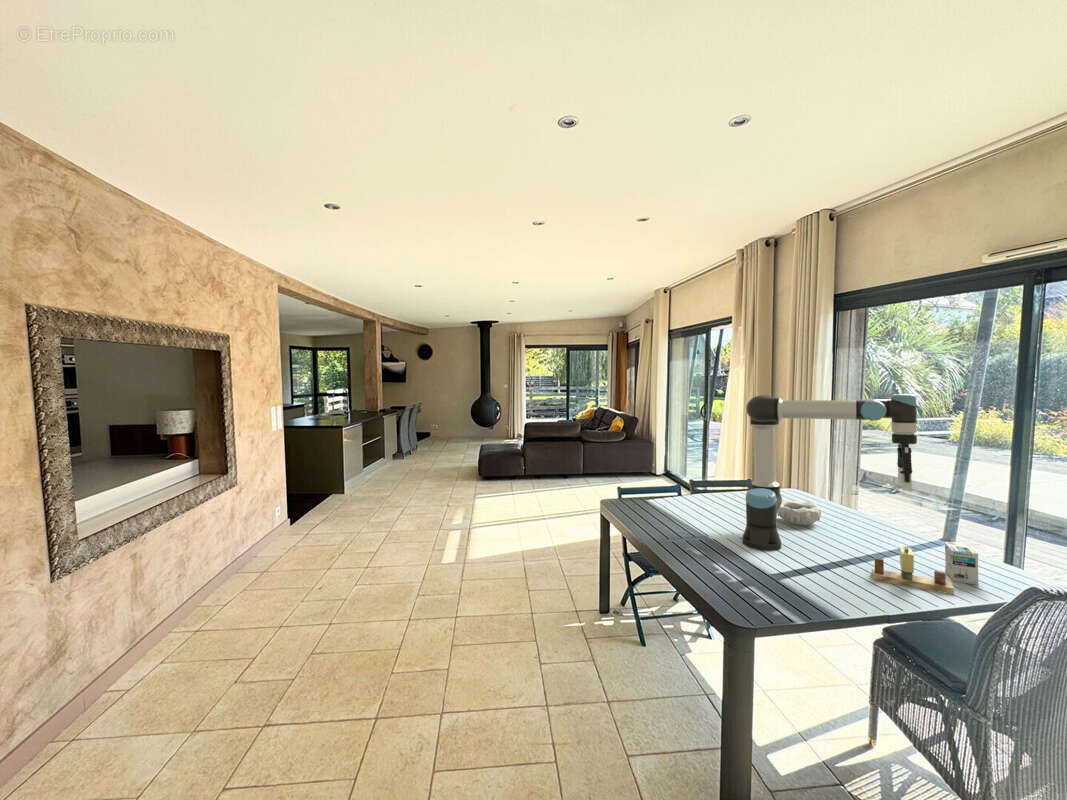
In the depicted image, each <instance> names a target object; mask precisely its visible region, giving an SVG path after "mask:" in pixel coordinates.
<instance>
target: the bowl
mask: <svg viewBox="0 0 1067 800" xmlns="http://www.w3.org/2000/svg"><path fill="white" fill-rule="evenodd" d="M821 514H822V511H821V507H820V506H819V505H818V504H817V503H815V502H810V501H807V502H805V501H800V500H784V499H782V503H781V506H780V507H779V509H778V510H777V511H776V519H777V517H780V518H781V519H782V520H783V521H785V522H787V523H789V524H793V525H796V524H797V526H811V525H812V524H814V523H816V522H820V521H821V518H822V517H821Z"/></svg>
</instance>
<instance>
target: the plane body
mask: <svg viewBox="0 0 1067 800" xmlns="http://www.w3.org/2000/svg"><path fill="white" fill-rule="evenodd" d="M884 561H885V560H884V557H879V556H874V568H871V579H872V581H876V582H883V583H889V584H893V585H900V586H906V587H911V588H915V589H921V590H927V591H932V590H933V592H938V591H941V592H940V593H943V592H946V593H945V594H949V593H952V594H951V595H955V587H954V585H953V584H952V581H949V580H947V572H946V571H941V570H934V571H933V572H934V573H933V575H934V577H933V578H931V577H926V576H919V575H914V574H913V573H911V572H905V571H902V569H901V568H900V571H901V572H896V571H888V570H884V568H885V567H884Z"/></svg>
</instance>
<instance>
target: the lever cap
mask: <svg viewBox="0 0 1067 800" xmlns="http://www.w3.org/2000/svg"><path fill="white" fill-rule="evenodd" d="M914 561H915V560H914V553H913V551H912V548H909V547H908V546H904V547H899V564H900V570H901V569H902V571H905V572H911V573H912V574H914V573H915V572H914V571H915V570H914V568H915V567H914V566H915V564H914V563H915V562H914Z"/></svg>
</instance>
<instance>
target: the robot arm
mask: <svg viewBox="0 0 1067 800" xmlns="http://www.w3.org/2000/svg"><path fill="white" fill-rule="evenodd" d="M917 407H918V405H917V396H916V395H915V394H913V393H906V394H905V393H904V394H903V393H900V394H899V393H897V394H892V395H891V398H888V399H887V398H886V399H884V398H883V399H877V398H876V399H874V398H873V399H871V398H870V399H866V398H865V399H856V400H854V399H853V400H849V399H848V400H846V399H845V400H844V399H842V400H841V399H839V400H838V399H837V400H836V399H834V400H827V399H826V400H822V399H821V400H820V399H819V400H818V399H817V400H813V399H812V400H805V399H804V400H801V399H799V400H794V399H793V400H790V399H789V400H785V399H784V400H783V399H782V398H781V397H774V396H772V395H769V394H760V395H755V396H754V397H752V398H751V399H750V400H749V401H748V402H747V404H746V409H745V410H746V413H747V415H748V416H749V418H750V419H749V423H750V426H751V427H752V428H753V441H754V442H753V445H754V446H753V447H754V451H753V452H754V480H753V481H752V482H751V489H748V490H747V491H746V493H745V510H746V511H745V513H746V514H745V515H746V516H745V520H746V524H745V528H744V530H743V535H742V537H741V538H742V539H741V541H742V545H744V546H746V547H747V548H751V549H754V550H759V551H768V552H769V551H778V550H781V548H782V540H781V537H780V535H779V531H778V529H777V518H776V511H777V510H778V509H779V507H780V506H781V503H782V500H783V498H782V495H781V484H780V483H779V482H778V481H777V465H776V464H777V457H776V453H777V452H776V451H777V450H776V428H777V427H778V426H779V425H780V423H779V422H780V421H783V419H801V420H802V419H804V420H805V419H806V420H808V419H809V420H858V421H859V420H863V421H870V422H873V421H879V420H882V419H891V432H892V434H891V442H892V443H893V444H897V448H896V450H897V451H896V452H897V463H896V465H897V484H899V485H901V491H907V492H912V474H913V466H912V448H911V447H910V445H916V444H917V443H918V439H917V438H918V435H917V434H916V433H917V430H918V428H919V425H918V424H917V413H918V410H917Z"/></svg>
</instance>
